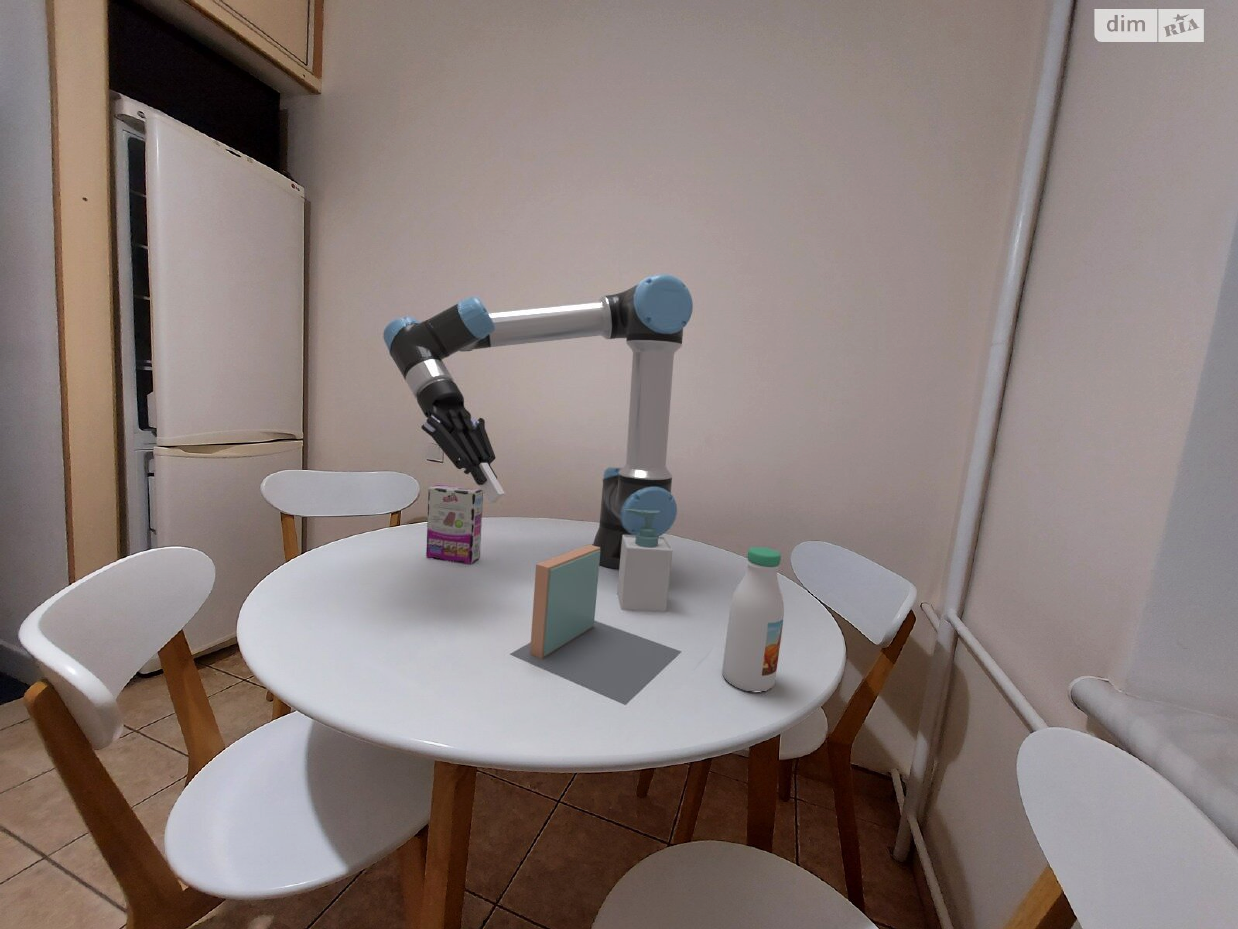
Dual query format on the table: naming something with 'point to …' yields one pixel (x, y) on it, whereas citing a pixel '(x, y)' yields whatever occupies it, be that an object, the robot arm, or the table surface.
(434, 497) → the candy bar box
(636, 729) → the table surface
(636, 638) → the mat
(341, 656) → the table surface
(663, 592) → the soap bottle
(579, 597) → the tile
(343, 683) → the table surface
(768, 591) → the milk bottle
